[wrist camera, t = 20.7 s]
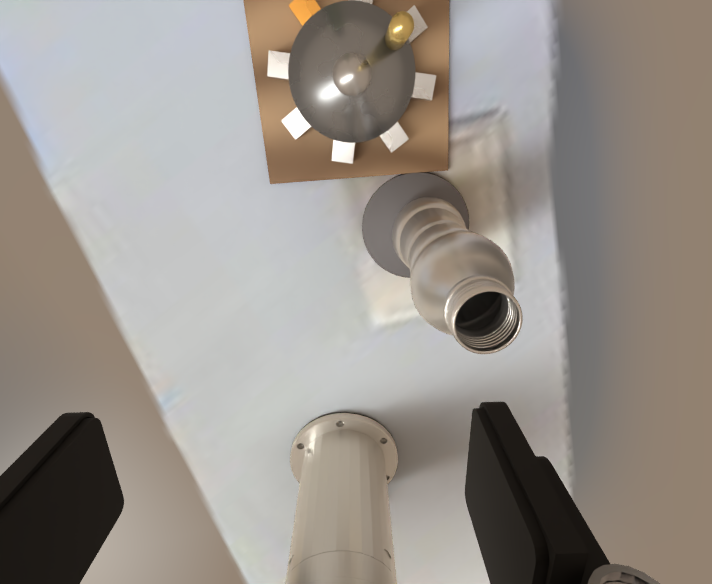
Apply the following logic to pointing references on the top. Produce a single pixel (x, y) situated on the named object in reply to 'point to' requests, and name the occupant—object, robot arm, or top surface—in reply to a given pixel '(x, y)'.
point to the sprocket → (351, 73)
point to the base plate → (371, 158)
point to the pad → (389, 205)
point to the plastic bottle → (457, 276)
